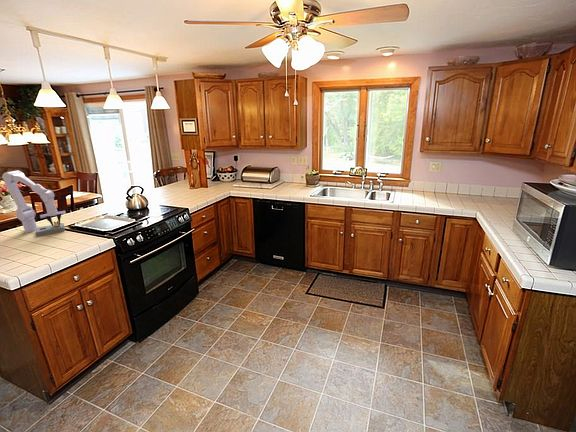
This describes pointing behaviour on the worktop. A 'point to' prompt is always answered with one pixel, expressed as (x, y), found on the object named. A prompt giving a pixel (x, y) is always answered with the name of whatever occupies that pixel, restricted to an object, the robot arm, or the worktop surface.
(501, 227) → the worktop surface
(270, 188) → the worktop surface
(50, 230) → the bore block
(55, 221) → the brass pin
